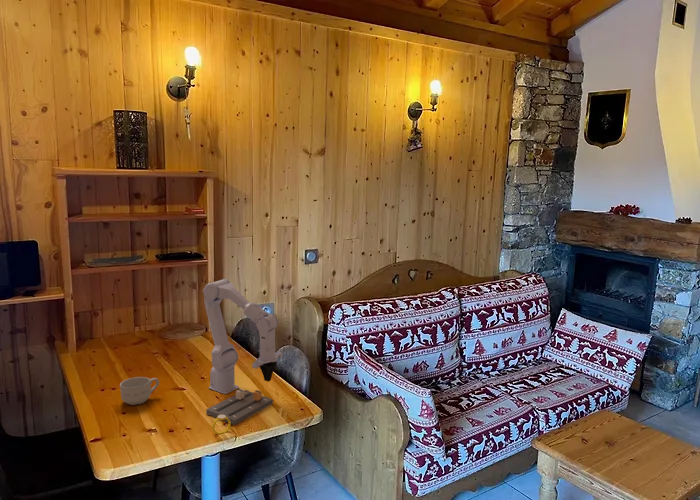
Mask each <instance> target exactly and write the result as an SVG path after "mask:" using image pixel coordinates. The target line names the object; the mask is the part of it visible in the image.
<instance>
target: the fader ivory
mask: <svg viewBox="0 0 700 500" xmlns="http://www.w3.org/2000/svg"><path fill="white" fill-rule="evenodd" d="M244 391H245V389H242V388H237V389H236V390H235V395H236V399H239V400H240V399H242V398H244Z"/></svg>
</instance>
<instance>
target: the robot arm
mask: <svg viewBox="0 0 700 500" xmlns="http://www.w3.org/2000/svg"><path fill="white" fill-rule="evenodd" d="M202 292H203V296H204V298H203V299H204V301H203V303H204V308H205V311H206V312H205V313H206V316H207V319H208V324H209V328H210V332H211V335H212V340H213V343H214V347H213V349H212V351H211V354H210V355H211V365H212V367H211V369H210V373H209V376H210V378H209V380H210V382H209V383H210V385H209V387H208V389H209V390H213V391H215V392H218V393H220V394H224V395H226V394H227V395H228V393H231V392H234V391H236V390H238V389H240V386H239V385H237V384H235V381H236V380H235V367H236V363H237V362H238V361H239V354H238V351H237V350H236V348H235V345H234V344H232V343H231V342H230V341H229V338H228V337H229V336H228V334H227V330H226V326H225V322H224V321H225V320H224V317H223V314H222V310H221V306H220V304H221V302H222V301H223V299H224V300H225V299H228V300H230V301H231V302H232V303H233V304H236V305H237V306H238V307H239V308H241V309H242V310H243V313H244V315H245V316H246V317H247V318H248V319H249V320H251V322H253V323H254V324H256V329H257V331H258V335H259V357H258V358H257V359H256V360H255V361H253V362H252V365H251V366H252V368H253V369H254V370H255V369H256V370H257V369H260V370H261V371H260V372H261V373H262V376H263V380H264V381H265V382H269V383H270V382H271V380H272V377H273V372H274V370H275V368H276V366H277V363H278V362H277V361H278V359H281V358H282V357H283V356H282V354H283V353H282V351H281V352H280V351H277V352H276V328H277V327H278V326H279V319H278V318H277V316H276V315H275V314H274V313H269V312H267V311H266V310H264V309H263V307H261V306H259V304H258V303H257V302H250V301H249V300H248V299H247V298H245V297H244V296H243V295H242V294H241V292H239V291H238V290H237V289H236V288H235V286H234V283H232V282H231V281H230V280H229V279H227V278H222V279H220V280H217V281H214V282H209V283H206V285H205V286H204V288H203V289H202Z"/></svg>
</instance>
